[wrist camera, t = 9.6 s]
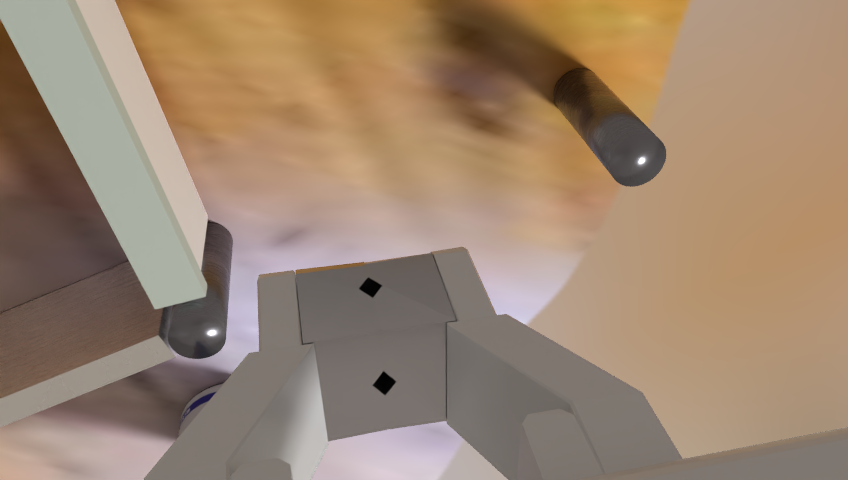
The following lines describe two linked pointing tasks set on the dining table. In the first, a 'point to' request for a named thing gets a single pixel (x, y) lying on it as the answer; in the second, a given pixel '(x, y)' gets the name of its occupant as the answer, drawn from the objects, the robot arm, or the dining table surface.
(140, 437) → the dining table surface
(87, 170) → the gate
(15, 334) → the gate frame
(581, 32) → the dining table surface
